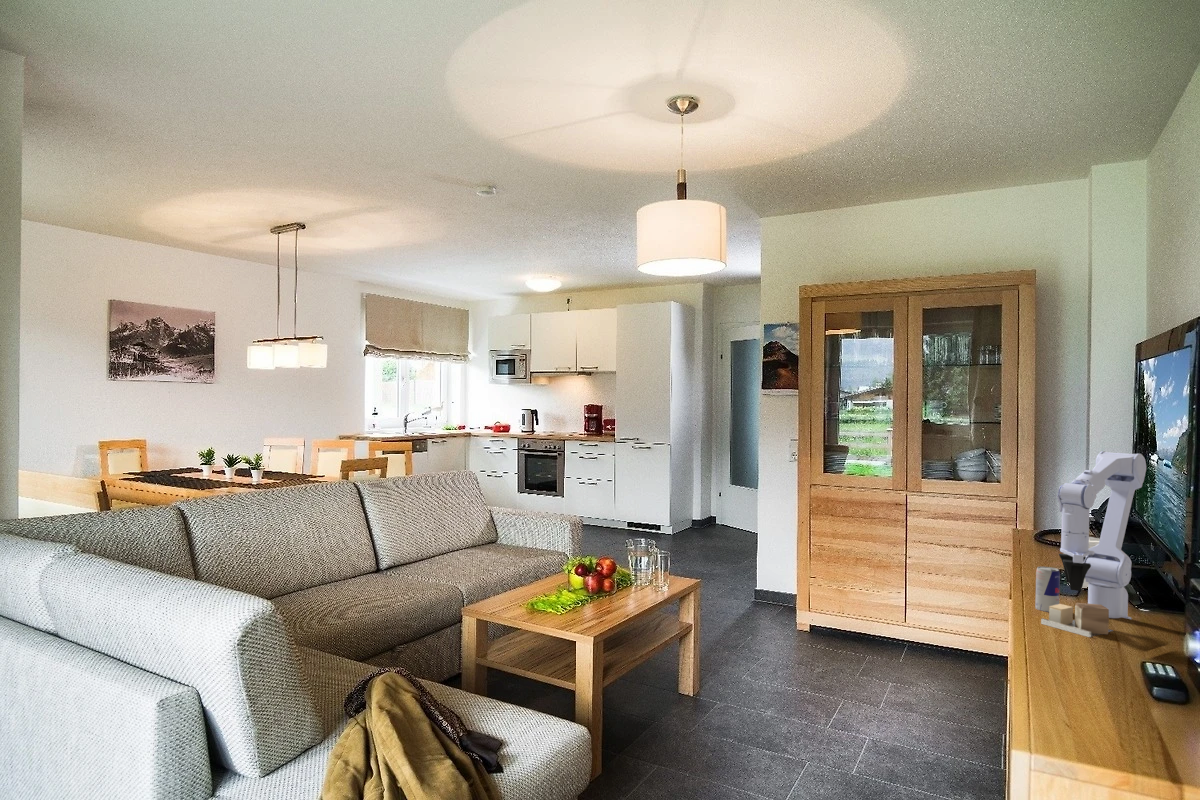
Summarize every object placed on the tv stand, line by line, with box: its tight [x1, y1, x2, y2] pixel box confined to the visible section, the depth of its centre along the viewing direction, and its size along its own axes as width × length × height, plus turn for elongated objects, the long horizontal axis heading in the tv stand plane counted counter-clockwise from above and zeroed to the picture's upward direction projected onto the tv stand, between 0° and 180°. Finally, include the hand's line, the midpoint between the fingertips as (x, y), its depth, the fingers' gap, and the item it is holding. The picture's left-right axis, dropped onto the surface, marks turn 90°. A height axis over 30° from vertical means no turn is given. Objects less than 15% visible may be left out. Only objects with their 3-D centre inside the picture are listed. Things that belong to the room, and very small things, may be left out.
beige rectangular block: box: [1048, 603, 1074, 625], centre depth 179 cm, size 5×3×4 cm, turn 119°
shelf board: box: [1040, 618, 1114, 638], centre depth 175 cm, size 11×11×2 cm
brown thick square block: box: [1074, 602, 1110, 635], centre depth 173 cm, size 4×6×6 cm
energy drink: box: [1034, 566, 1061, 613], centre depth 190 cm, size 5×5×12 cm
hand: (1073, 586), depth 178 cm, fingers open, 7 cm apart
